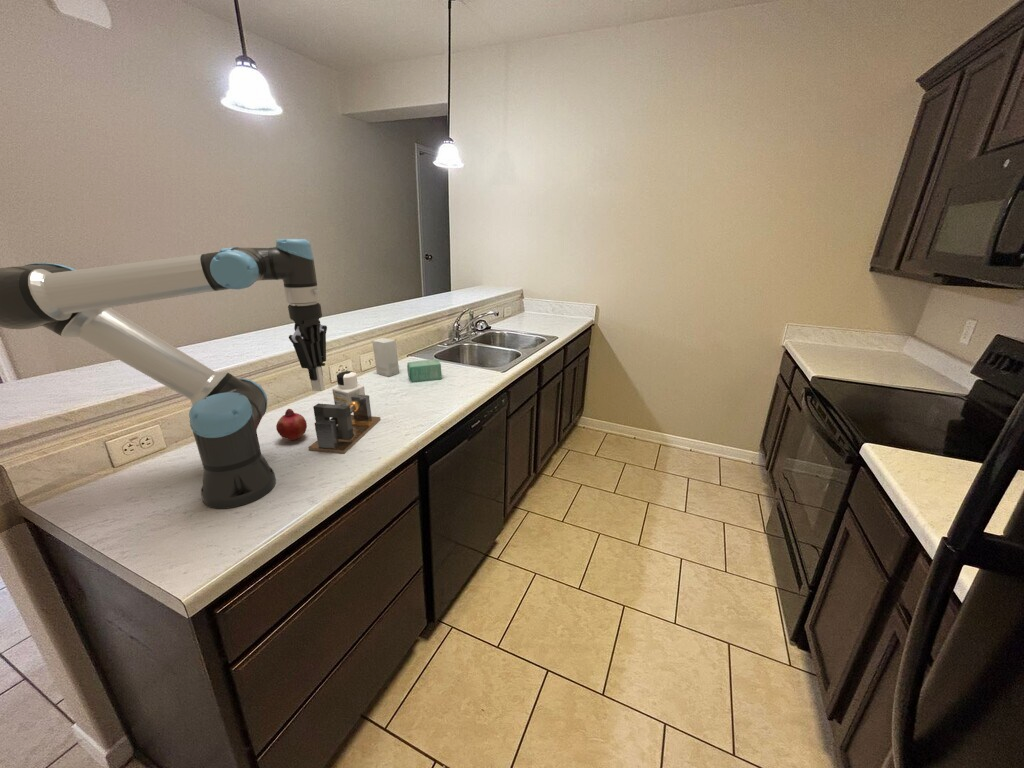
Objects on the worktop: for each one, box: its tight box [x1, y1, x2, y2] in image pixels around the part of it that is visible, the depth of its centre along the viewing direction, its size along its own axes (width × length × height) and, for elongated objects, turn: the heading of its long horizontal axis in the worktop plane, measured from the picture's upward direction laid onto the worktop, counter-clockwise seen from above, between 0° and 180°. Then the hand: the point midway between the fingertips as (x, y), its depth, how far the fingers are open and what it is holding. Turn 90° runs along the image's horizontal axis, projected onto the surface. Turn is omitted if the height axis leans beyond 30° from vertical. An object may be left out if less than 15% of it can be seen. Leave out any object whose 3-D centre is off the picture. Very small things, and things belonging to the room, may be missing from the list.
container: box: [332, 370, 366, 406], centre depth 147 cm, size 8×8×13 cm
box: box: [406, 358, 443, 384], centre depth 177 cm, size 7×14×8 cm, turn 111°
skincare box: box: [371, 337, 400, 378], centre depth 181 cm, size 8×7×16 cm
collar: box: [312, 402, 354, 440], centre depth 121 cm, size 2×10×10 cm, turn 81°
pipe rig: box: [308, 394, 381, 455], centre depth 127 cm, size 23×11×9 cm, turn 171°
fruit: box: [275, 408, 308, 441], centre depth 124 cm, size 8×8×10 cm
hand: (318, 389), depth 112 cm, fingers closed
